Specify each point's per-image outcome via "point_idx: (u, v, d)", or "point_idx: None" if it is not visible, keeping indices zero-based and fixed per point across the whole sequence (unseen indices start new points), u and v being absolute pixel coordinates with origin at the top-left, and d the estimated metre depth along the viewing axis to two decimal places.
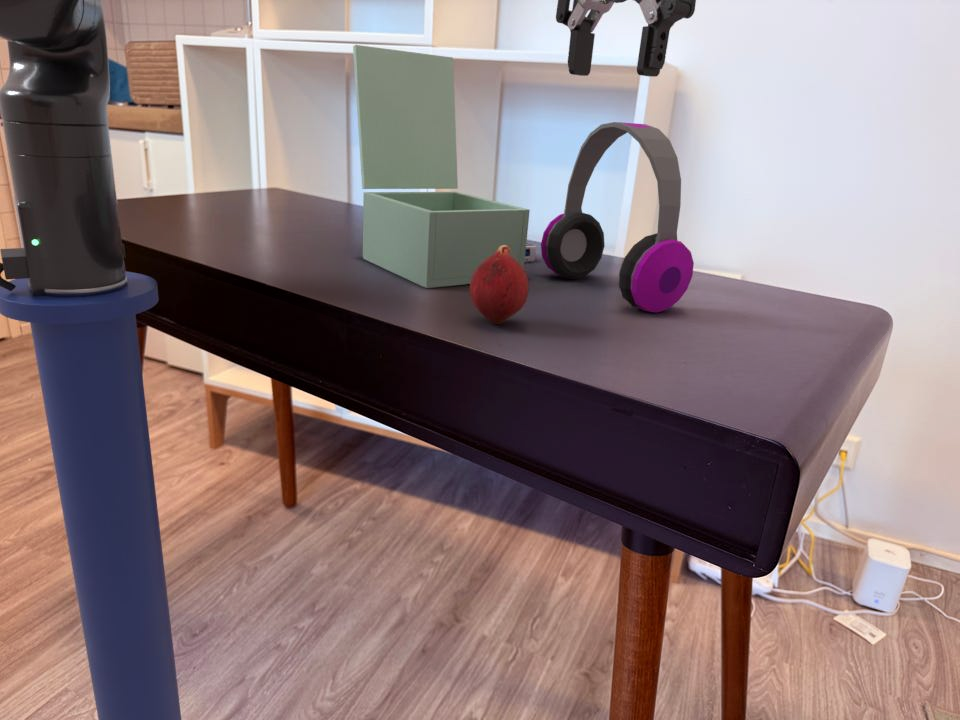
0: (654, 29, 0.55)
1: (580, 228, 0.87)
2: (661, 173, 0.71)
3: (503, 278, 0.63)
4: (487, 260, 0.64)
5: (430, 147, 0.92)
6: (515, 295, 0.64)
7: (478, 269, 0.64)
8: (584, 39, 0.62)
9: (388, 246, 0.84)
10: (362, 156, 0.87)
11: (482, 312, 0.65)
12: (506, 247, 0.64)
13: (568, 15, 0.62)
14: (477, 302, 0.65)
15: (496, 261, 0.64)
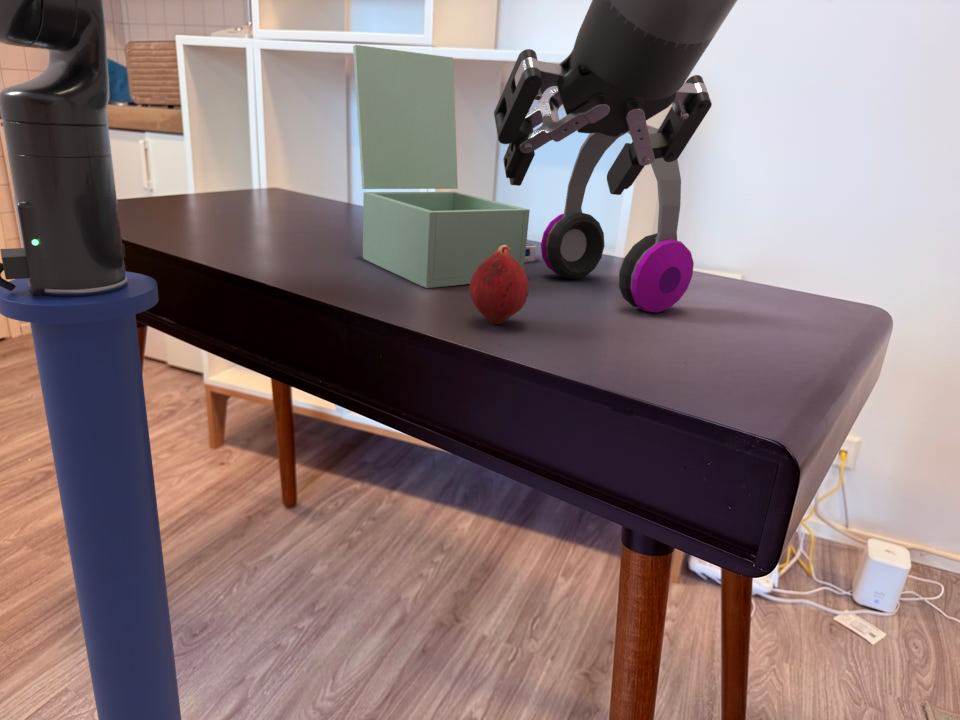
0: None
1: (580, 228, 0.87)
2: (661, 173, 0.71)
3: (503, 278, 0.63)
4: (487, 260, 0.64)
5: (430, 147, 0.92)
6: (515, 295, 0.64)
7: (478, 269, 0.64)
8: None
9: (388, 246, 0.84)
10: (362, 156, 0.87)
11: (482, 312, 0.65)
12: (506, 247, 0.64)
13: None
14: (477, 302, 0.65)
15: (496, 261, 0.64)
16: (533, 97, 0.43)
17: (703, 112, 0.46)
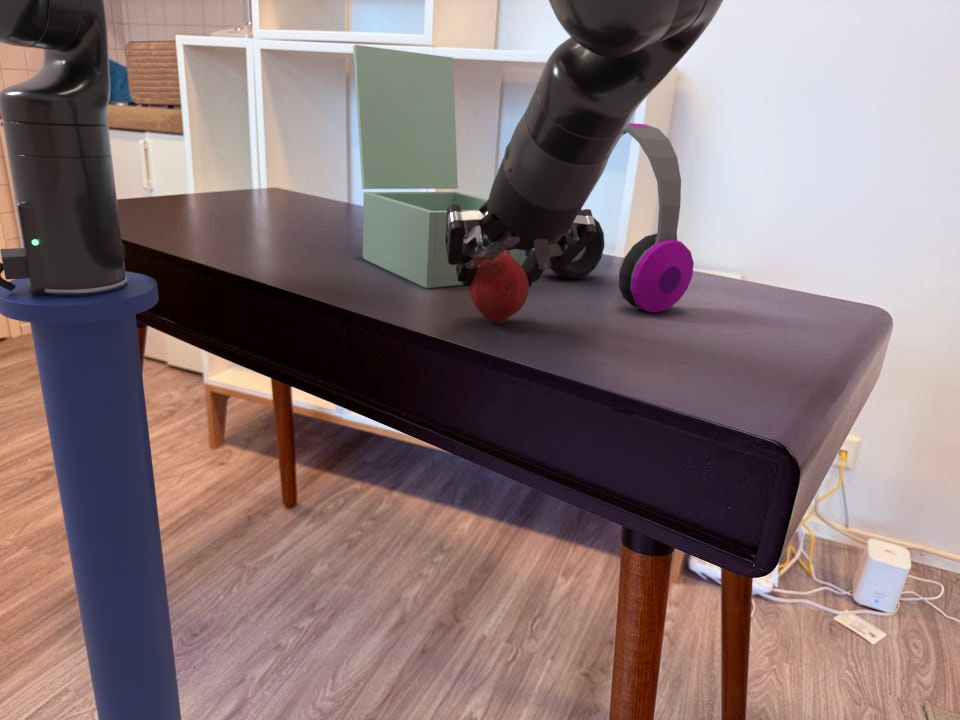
0: None
1: None
2: (661, 173, 0.71)
3: (503, 278, 0.63)
4: (487, 260, 0.64)
5: (430, 147, 0.92)
6: (515, 295, 0.64)
7: (478, 269, 0.64)
8: None
9: (388, 246, 0.84)
10: (362, 156, 0.87)
11: (482, 312, 0.65)
12: None
13: None
14: (477, 302, 0.65)
15: (495, 261, 0.64)
16: (462, 238, 0.57)
17: (590, 238, 0.60)
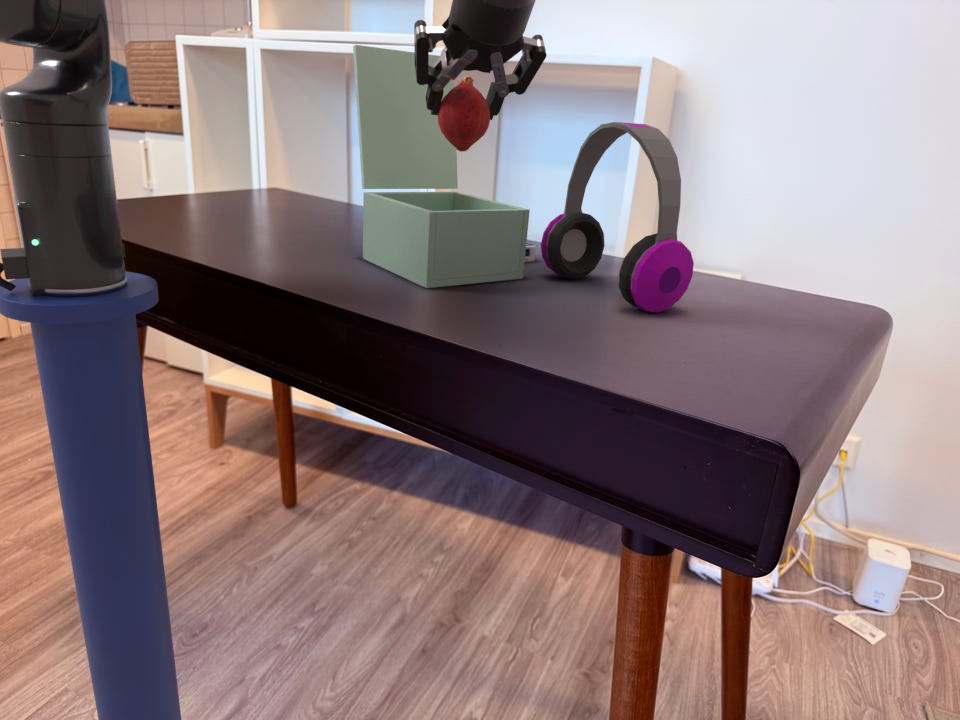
0: None
1: (580, 228, 0.87)
2: (661, 173, 0.71)
3: (466, 101, 0.72)
4: None
5: (430, 147, 0.92)
6: (476, 117, 0.72)
7: (444, 97, 0.73)
8: None
9: (388, 246, 0.84)
10: (362, 156, 0.87)
11: (448, 136, 0.74)
12: (469, 77, 0.73)
13: None
14: (443, 126, 0.73)
15: (460, 88, 0.72)
16: (427, 51, 0.66)
17: (541, 60, 0.69)
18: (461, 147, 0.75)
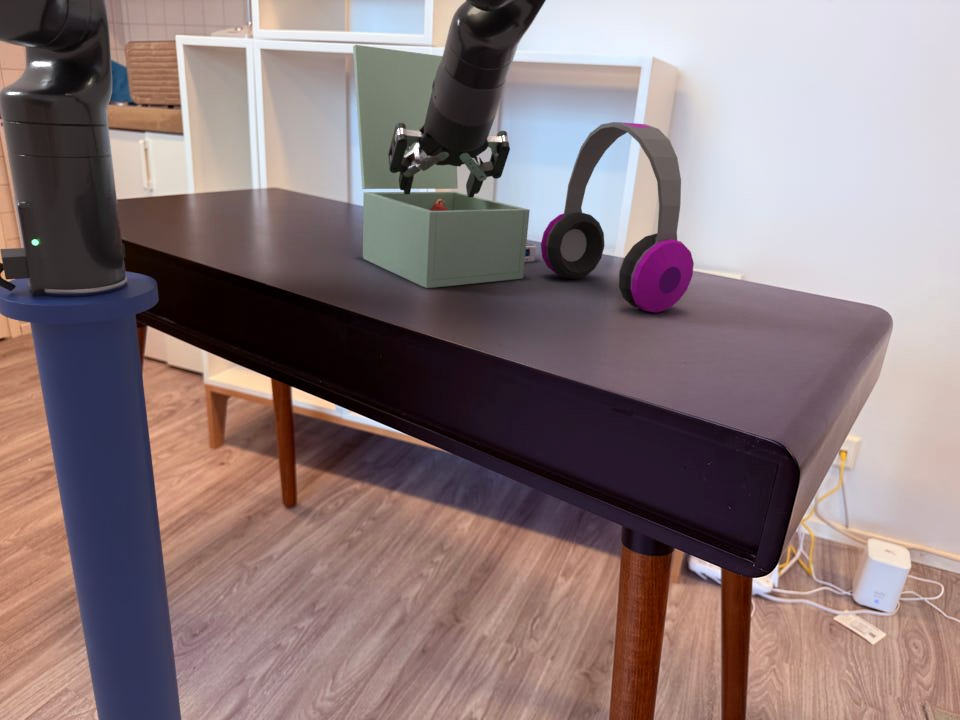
0: None
1: (580, 228, 0.87)
2: (661, 173, 0.71)
3: None
4: None
5: None
6: None
7: None
8: None
9: (388, 246, 0.84)
10: (362, 156, 0.87)
11: None
12: (441, 200, 0.86)
13: None
14: None
15: None
16: (404, 149, 0.78)
17: (506, 152, 0.80)
18: None
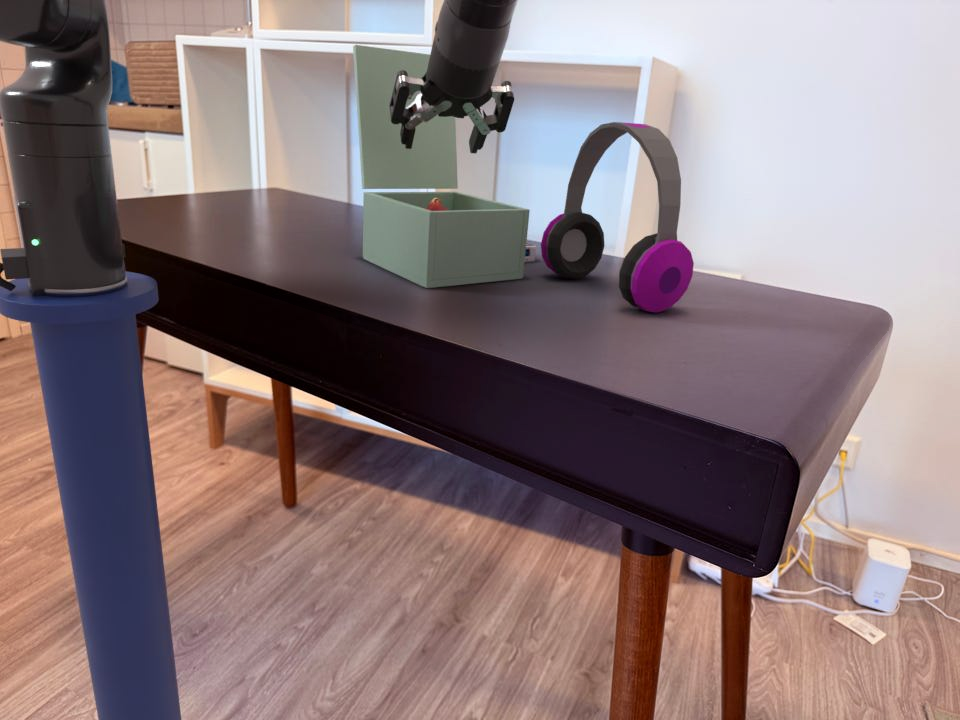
0: None
1: (580, 228, 0.87)
2: (661, 173, 0.71)
3: None
4: None
5: (430, 147, 0.92)
6: None
7: None
8: None
9: (388, 246, 0.84)
10: (362, 156, 0.87)
11: None
12: (437, 199, 0.87)
13: None
14: None
15: (430, 209, 0.86)
16: (406, 97, 0.76)
17: (510, 103, 0.78)
18: None
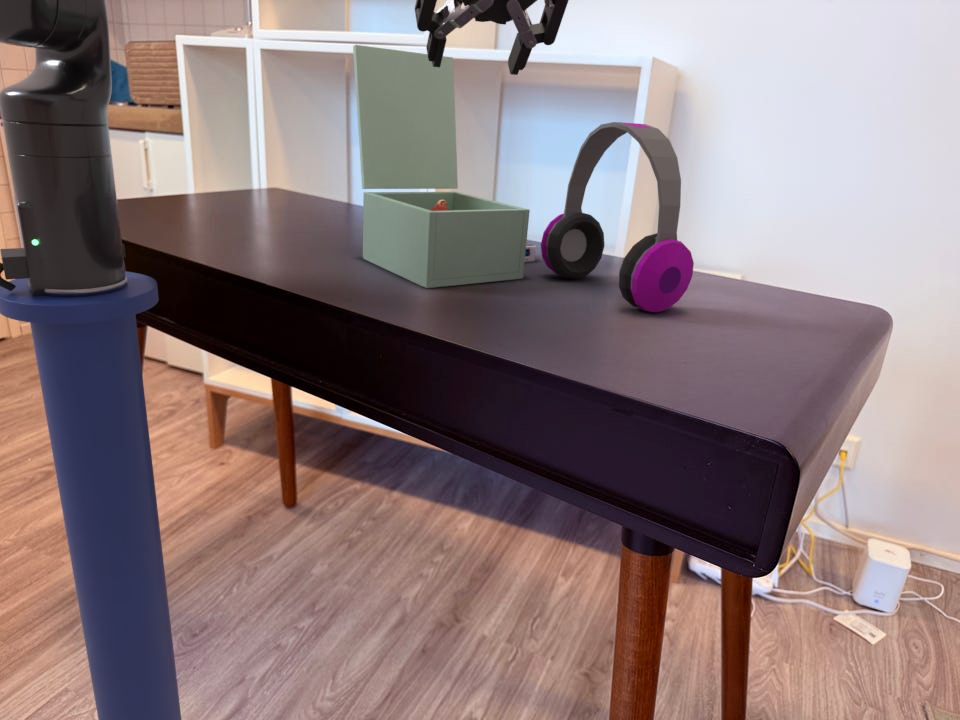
0: (528, 47, 0.69)
1: (580, 228, 0.87)
2: (661, 173, 0.71)
3: None
4: None
5: (430, 147, 0.92)
6: None
7: None
8: None
9: (388, 246, 0.84)
10: (362, 156, 0.87)
11: None
12: (443, 201, 0.86)
13: None
14: None
15: None
16: None
17: (564, 2, 0.64)
18: None
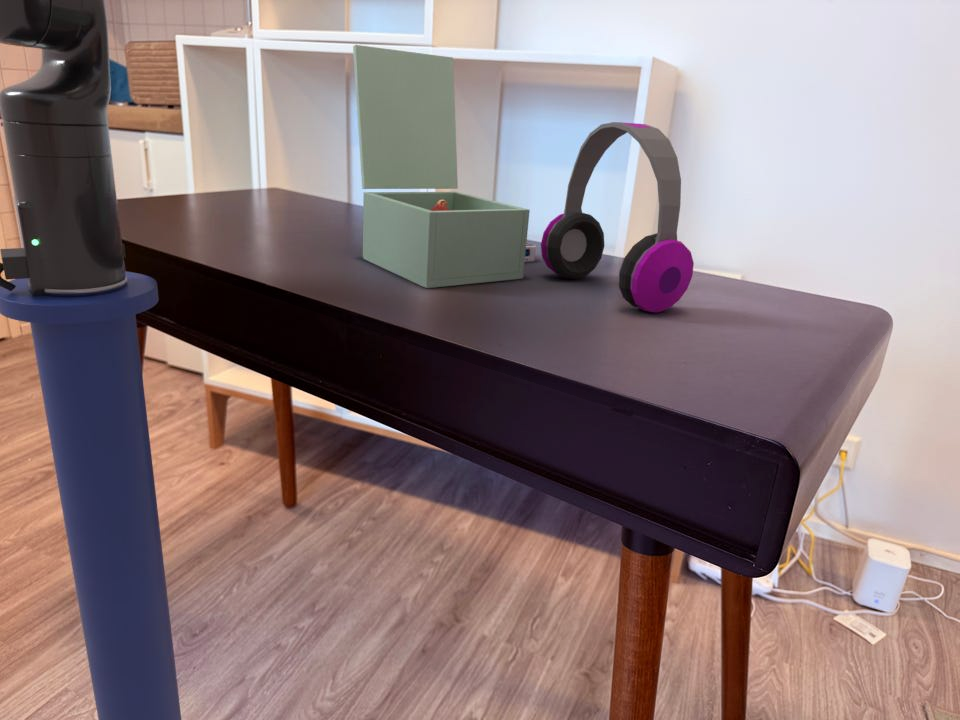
0: None
1: (580, 228, 0.87)
2: (661, 173, 0.71)
3: None
4: None
5: (430, 147, 0.92)
6: None
7: None
8: None
9: (388, 246, 0.84)
10: (362, 156, 0.87)
11: None
12: (443, 201, 0.86)
13: None
14: None
15: None
16: None
17: None
18: None
